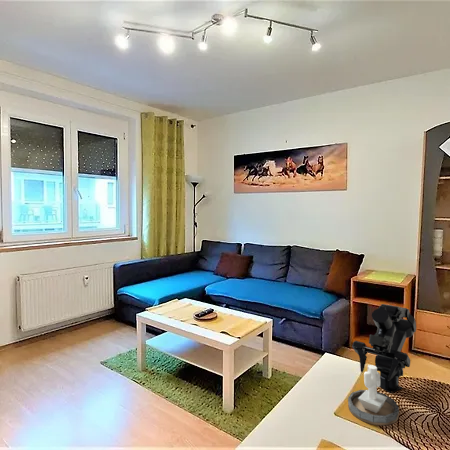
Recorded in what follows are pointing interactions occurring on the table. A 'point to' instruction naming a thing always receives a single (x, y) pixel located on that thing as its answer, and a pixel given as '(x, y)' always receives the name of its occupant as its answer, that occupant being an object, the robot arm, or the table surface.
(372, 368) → the figurine
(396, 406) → the round grey tray
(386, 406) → the brown round plate
